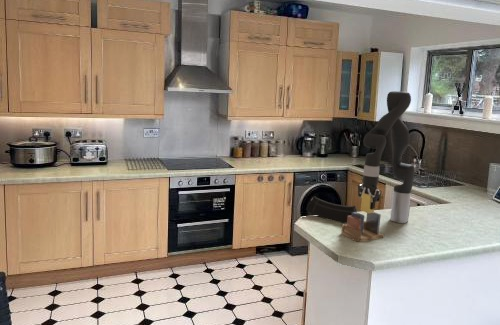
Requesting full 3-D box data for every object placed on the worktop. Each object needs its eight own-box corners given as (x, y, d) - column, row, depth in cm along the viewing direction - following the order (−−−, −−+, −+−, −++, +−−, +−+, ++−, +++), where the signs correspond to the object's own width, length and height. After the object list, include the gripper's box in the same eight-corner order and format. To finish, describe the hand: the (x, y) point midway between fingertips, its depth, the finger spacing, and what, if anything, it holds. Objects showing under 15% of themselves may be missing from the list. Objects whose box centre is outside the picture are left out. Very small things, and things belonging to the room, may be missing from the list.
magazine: (364, 209, 224) (317, 184, 238) (362, 211, 221) (314, 185, 236) (352, 236, 230) (307, 210, 244) (350, 238, 227) (304, 211, 241)
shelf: (365, 229, 219) (368, 208, 217) (383, 237, 209) (385, 215, 207) (341, 233, 210) (343, 212, 208) (358, 242, 200) (360, 219, 198)
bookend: (366, 228, 216) (369, 210, 214) (378, 233, 209) (380, 214, 208) (365, 228, 216) (367, 210, 214) (376, 234, 209) (379, 214, 207)
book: (365, 209, 211) (367, 192, 210) (373, 212, 207) (375, 195, 205) (360, 210, 210) (362, 192, 208) (368, 213, 205) (370, 195, 203)
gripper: (387, 177, 200) (383, 210, 203) (366, 171, 213) (362, 203, 216) (376, 178, 197) (372, 212, 200) (355, 171, 209) (351, 204, 212)
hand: (367, 207), depth 208 cm, fingers closed on book, 5 cm apart
